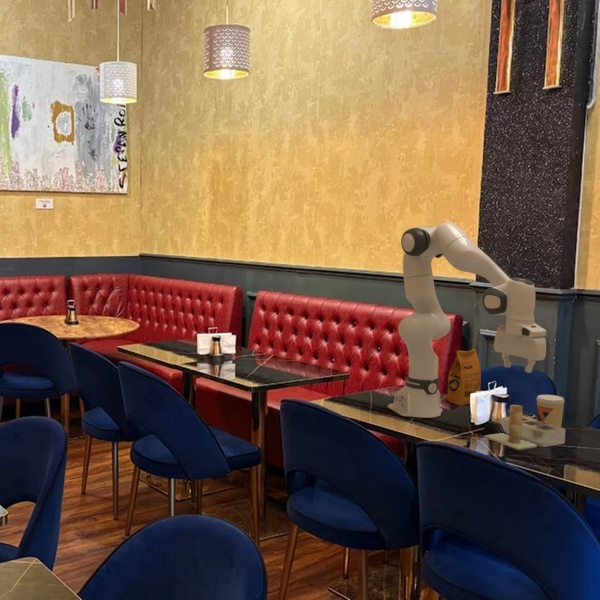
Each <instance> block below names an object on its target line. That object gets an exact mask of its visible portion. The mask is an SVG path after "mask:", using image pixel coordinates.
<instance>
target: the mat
mask: <svg viewBox="0 0 600 600" xmlns="http://www.w3.org/2000/svg"><path fill="white" fill-rule="evenodd" d="M484 438H485V439H488V440H491V441H494V442H496V443H499V444H502V445H504V446H506V447H507V446H508V447H509V448H512V449H514V450H518V451H522V450H527V449H528V450H529V449H533V448H537V447H538V445H535V444H532V443H529V442H527V441H524V440H521V443H518V444H516V443H510V442H508V438H509V435H507V434H504V433H501V432H499V433H493V434H492V433H491V434H485V435H484Z"/></svg>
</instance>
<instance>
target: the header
mask: <svg viewBox="0 0 600 600" xmlns="http://www.w3.org/2000/svg"><path fill="white" fill-rule="evenodd" d="M509 419H510V416H505V417H500V418H499V425H500V424H501V425H502V427H503V429H504V431H505V432H506V433H507V434H509ZM521 440H524V441H527V442H529V443H532V444H535V445H537V447H540V448H547V447H553V446H559V445H564V444H565V442H566V428H564V427H562V426H561V427H558V426H555V425H551V424H548V423H545V422H542V421H539V420H537V418H536V419H535V418H532V417H529V416H527V415H526V416H525V415H523V414H522V431H521Z"/></svg>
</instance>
